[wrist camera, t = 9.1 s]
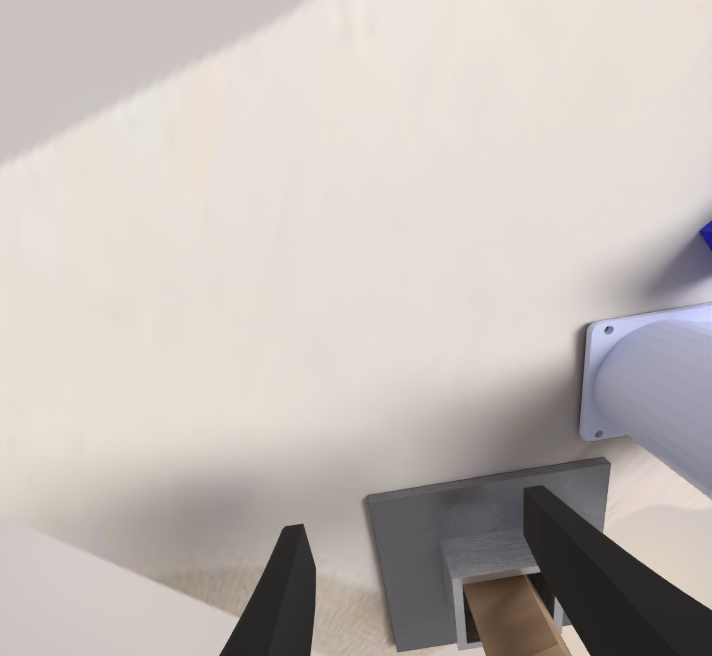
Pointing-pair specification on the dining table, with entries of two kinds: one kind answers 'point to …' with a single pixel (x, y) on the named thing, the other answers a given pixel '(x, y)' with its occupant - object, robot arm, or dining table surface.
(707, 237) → the blue rectangular block
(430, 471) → the dining table surface
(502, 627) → the rail end post
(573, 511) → the robot arm
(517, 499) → the grey square socket base
